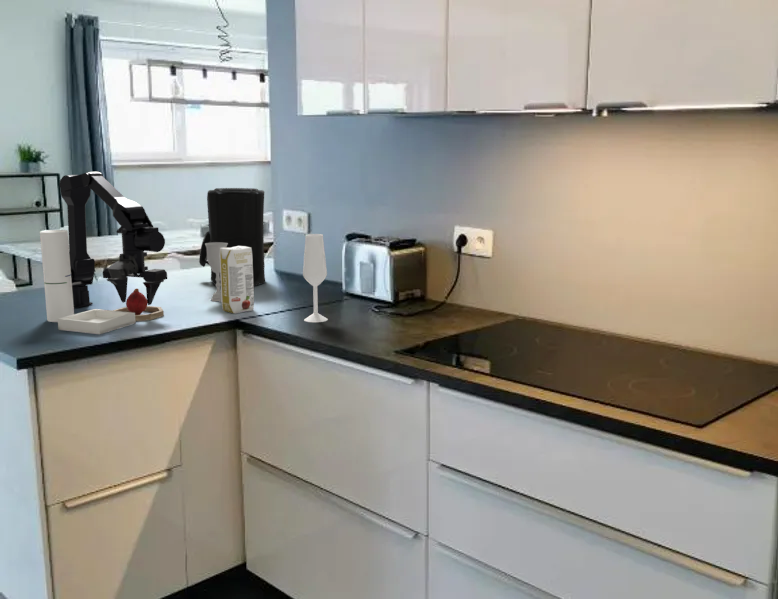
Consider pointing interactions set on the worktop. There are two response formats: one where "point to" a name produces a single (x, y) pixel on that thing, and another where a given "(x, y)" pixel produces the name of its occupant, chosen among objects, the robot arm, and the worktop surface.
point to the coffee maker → (236, 225)
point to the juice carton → (236, 279)
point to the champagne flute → (314, 269)
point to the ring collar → (157, 313)
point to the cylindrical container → (57, 274)
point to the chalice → (215, 264)
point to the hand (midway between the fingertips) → (136, 303)
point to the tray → (96, 321)
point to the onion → (136, 302)
